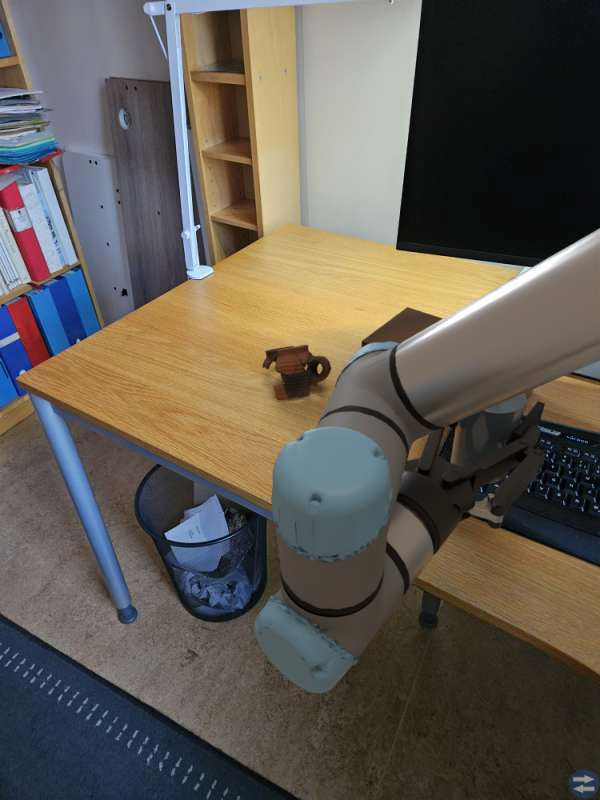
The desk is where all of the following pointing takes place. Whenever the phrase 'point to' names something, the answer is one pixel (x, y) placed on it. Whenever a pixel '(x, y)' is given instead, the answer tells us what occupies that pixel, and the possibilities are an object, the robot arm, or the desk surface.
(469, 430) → the utensil crock
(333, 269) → the desk surface
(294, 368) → the brown pitcher
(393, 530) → the robot arm
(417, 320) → the desk shelf
